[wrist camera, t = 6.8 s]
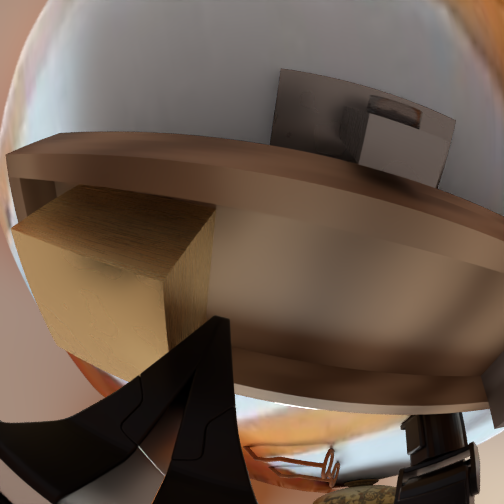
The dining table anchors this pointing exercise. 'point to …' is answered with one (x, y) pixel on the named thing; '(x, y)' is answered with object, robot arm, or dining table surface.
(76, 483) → the robot arm
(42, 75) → the dining table surface
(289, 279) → the beam
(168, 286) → the brass block
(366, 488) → the ceramic bowl
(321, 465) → the glasses
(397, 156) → the pivot stand
